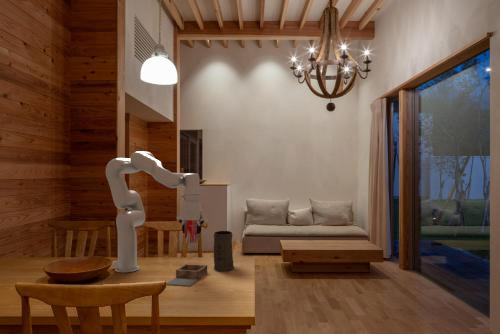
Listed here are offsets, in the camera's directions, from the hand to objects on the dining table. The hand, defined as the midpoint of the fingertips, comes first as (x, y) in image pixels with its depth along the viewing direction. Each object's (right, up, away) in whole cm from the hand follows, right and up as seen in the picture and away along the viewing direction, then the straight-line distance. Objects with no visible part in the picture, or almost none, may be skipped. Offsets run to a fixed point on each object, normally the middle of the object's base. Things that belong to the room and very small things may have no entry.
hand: (191, 232), depth 187 cm
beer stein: (+16, -22, +14) cm, 30 cm away
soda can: (0, -5, 0) cm, 5 cm away
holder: (0, -21, 0) cm, 21 cm away
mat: (-2, -21, -12) cm, 25 cm away
